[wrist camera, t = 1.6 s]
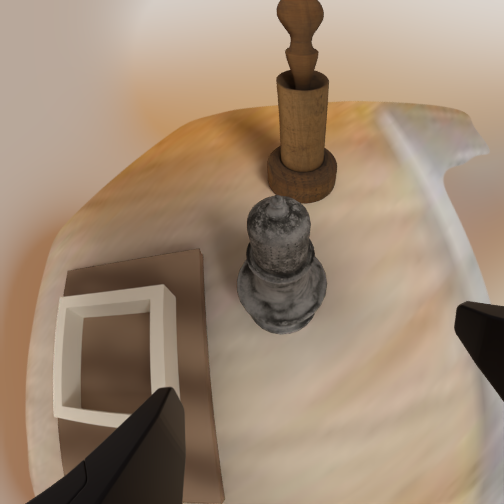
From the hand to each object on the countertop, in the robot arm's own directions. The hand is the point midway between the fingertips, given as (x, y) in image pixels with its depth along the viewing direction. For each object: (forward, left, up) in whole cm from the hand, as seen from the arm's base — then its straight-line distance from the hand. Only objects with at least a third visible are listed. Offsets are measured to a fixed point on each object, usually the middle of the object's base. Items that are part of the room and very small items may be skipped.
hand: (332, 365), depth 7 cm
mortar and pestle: (+19, -3, -13) cm, 23 cm away
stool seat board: (+2, +14, -13) cm, 19 cm away
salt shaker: (+7, +1, -13) cm, 14 cm away
